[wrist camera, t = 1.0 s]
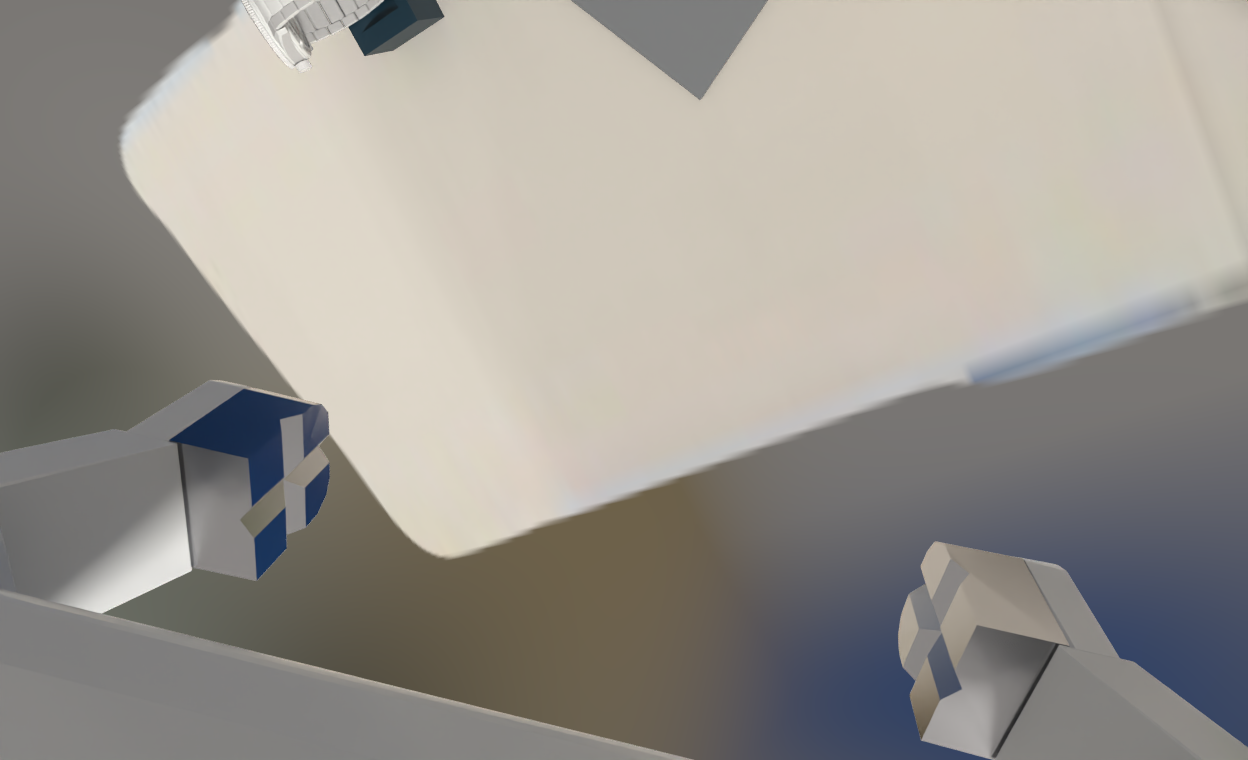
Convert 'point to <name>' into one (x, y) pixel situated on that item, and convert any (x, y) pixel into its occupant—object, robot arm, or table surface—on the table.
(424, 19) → the watch
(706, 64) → the mat
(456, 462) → the table surface
